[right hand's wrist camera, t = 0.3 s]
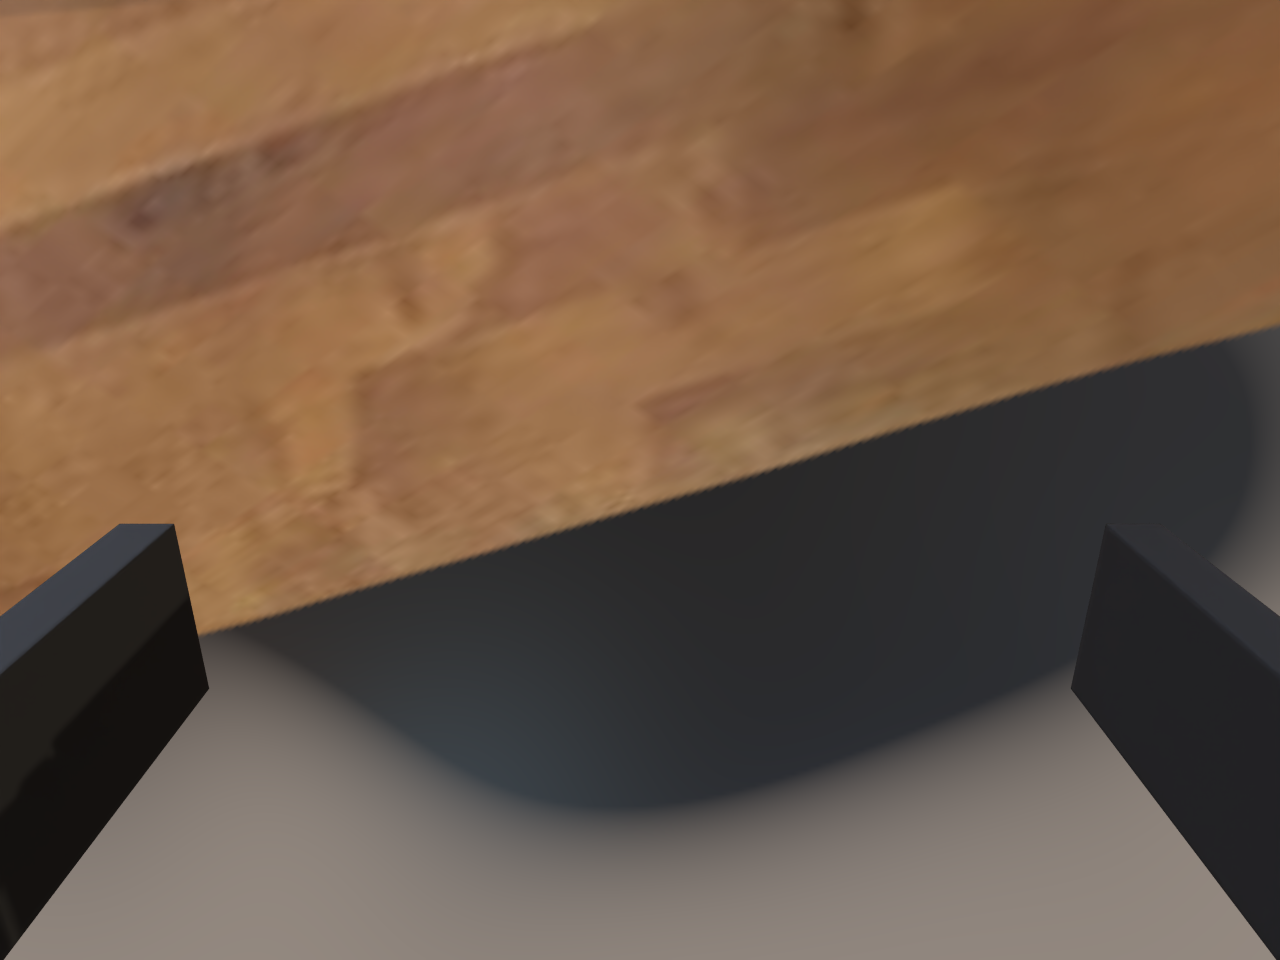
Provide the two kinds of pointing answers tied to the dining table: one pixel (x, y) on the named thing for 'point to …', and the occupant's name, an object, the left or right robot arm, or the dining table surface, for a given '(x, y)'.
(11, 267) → the dining table surface
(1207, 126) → the dining table surface
